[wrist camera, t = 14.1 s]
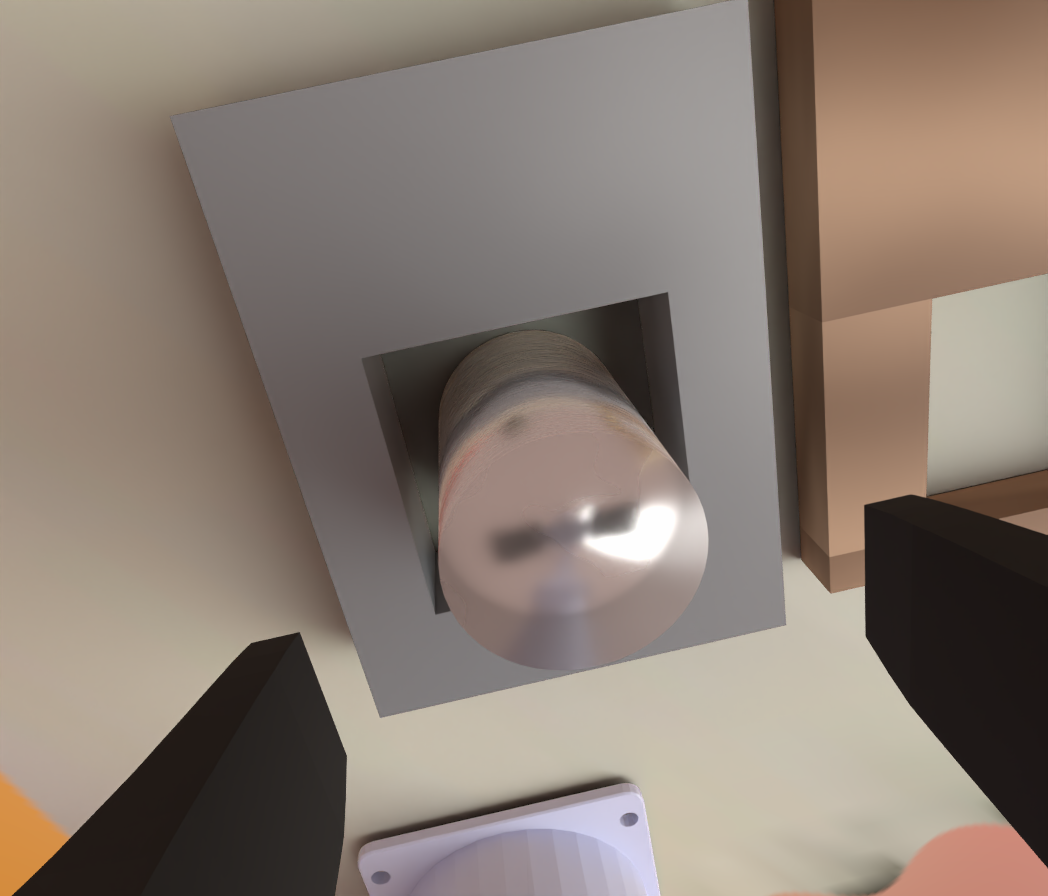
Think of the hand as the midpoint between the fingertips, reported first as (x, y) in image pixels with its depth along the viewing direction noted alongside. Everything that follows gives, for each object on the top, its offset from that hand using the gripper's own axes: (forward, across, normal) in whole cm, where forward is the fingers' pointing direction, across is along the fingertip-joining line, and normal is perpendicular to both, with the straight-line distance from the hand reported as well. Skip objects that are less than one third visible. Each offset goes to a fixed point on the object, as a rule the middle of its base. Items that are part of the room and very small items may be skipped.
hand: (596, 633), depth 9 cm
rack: (+8, 0, -1) cm, 8 cm away
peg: (+8, 0, 0) cm, 8 cm away
